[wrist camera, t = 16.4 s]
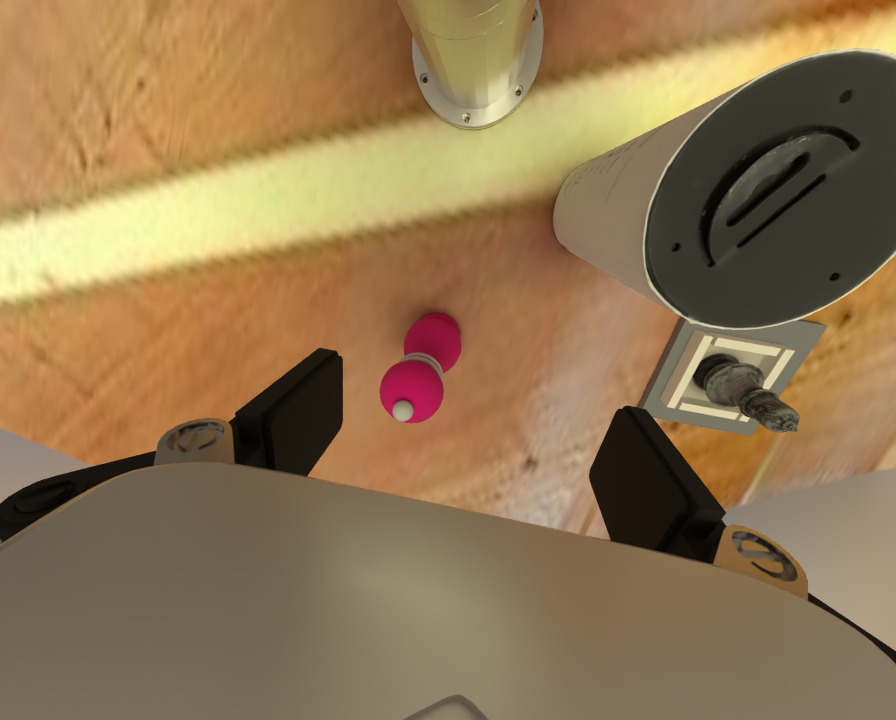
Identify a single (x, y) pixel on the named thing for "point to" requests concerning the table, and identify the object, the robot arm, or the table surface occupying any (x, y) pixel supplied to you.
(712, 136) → the speaker
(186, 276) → the table surface
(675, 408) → the socket board
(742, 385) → the salt shaker
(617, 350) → the table surface
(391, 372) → the pepper mill
